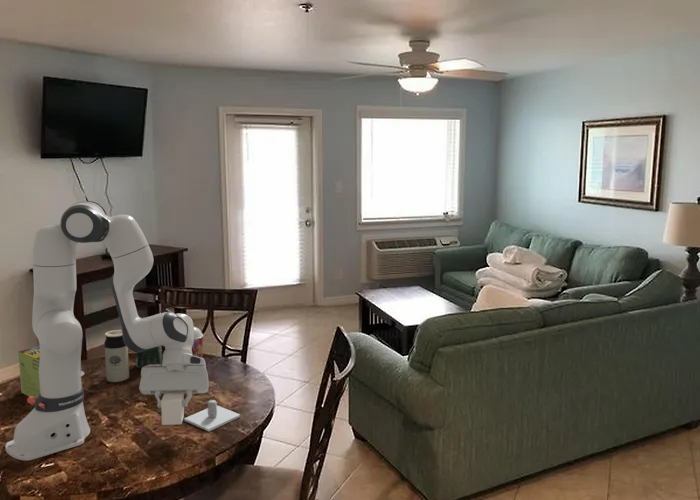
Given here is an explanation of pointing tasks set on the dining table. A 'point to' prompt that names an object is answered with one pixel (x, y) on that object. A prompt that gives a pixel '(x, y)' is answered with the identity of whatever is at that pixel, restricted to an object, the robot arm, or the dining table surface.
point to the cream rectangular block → (172, 408)
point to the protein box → (30, 371)
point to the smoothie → (197, 343)
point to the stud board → (211, 421)
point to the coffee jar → (149, 357)
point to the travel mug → (116, 357)
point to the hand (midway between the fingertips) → (172, 406)
